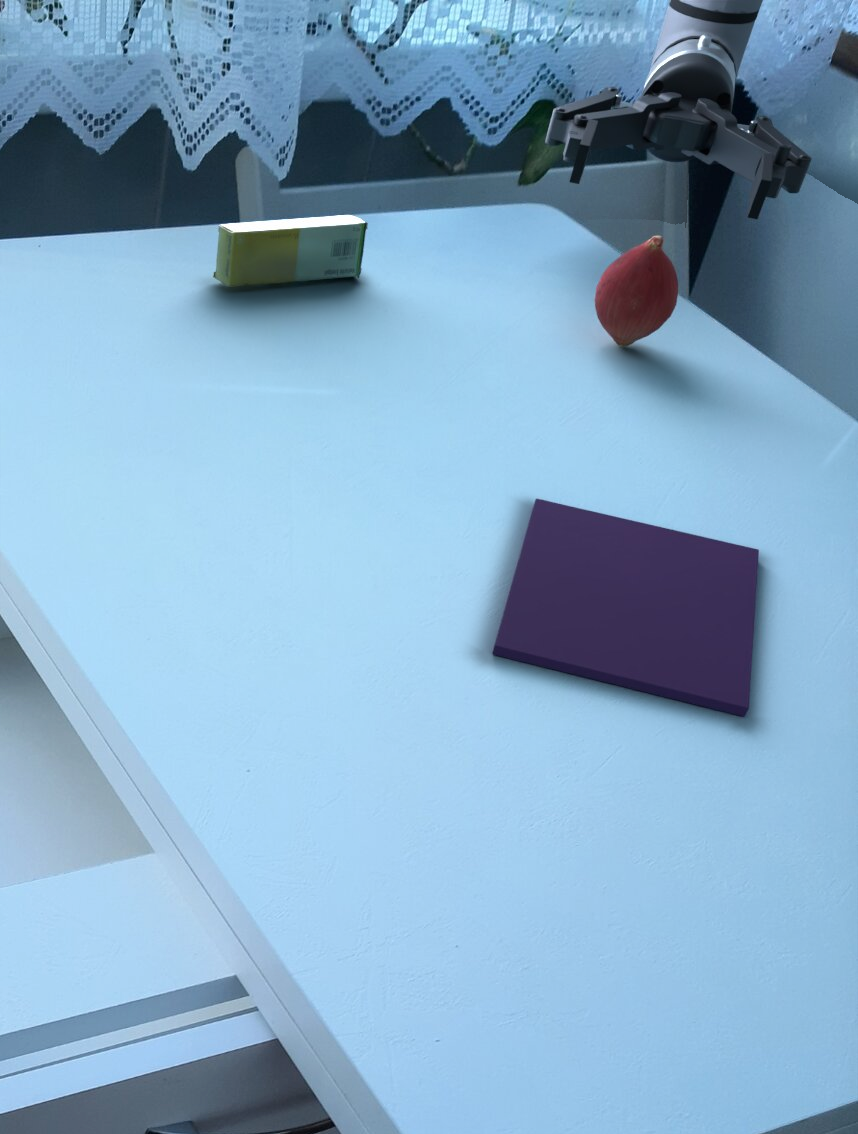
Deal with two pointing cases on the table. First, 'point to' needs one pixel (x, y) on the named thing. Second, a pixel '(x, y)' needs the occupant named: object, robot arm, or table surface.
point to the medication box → (290, 250)
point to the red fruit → (637, 293)
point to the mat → (633, 606)
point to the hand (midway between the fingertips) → (668, 182)
